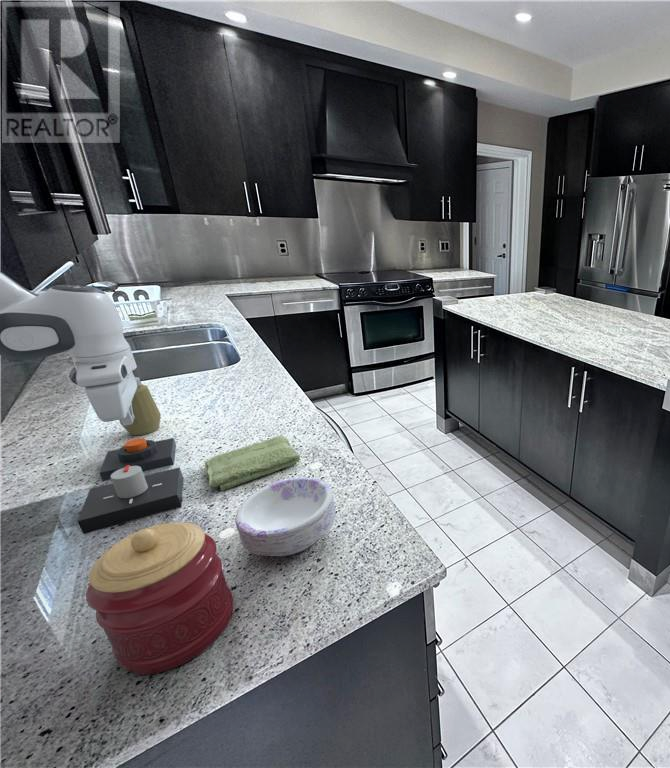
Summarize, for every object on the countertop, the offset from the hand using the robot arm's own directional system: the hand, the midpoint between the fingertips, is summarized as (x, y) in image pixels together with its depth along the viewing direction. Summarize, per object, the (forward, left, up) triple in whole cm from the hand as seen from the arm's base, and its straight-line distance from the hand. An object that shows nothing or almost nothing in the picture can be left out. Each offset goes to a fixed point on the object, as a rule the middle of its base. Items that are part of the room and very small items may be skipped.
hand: (129, 422), depth 89 cm
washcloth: (+21, -15, -11) cm, 28 cm away
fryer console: (+1, -18, -10) cm, 21 cm away
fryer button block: (0, 0, -10) cm, 10 cm away
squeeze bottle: (-1, +18, -11) cm, 21 cm away
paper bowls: (+25, -44, -11) cm, 51 cm away
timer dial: (+1, -18, -7) cm, 19 cm away
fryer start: (0, 0, -7) cm, 7 cm away
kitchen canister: (+9, -55, -11) cm, 57 cm away
